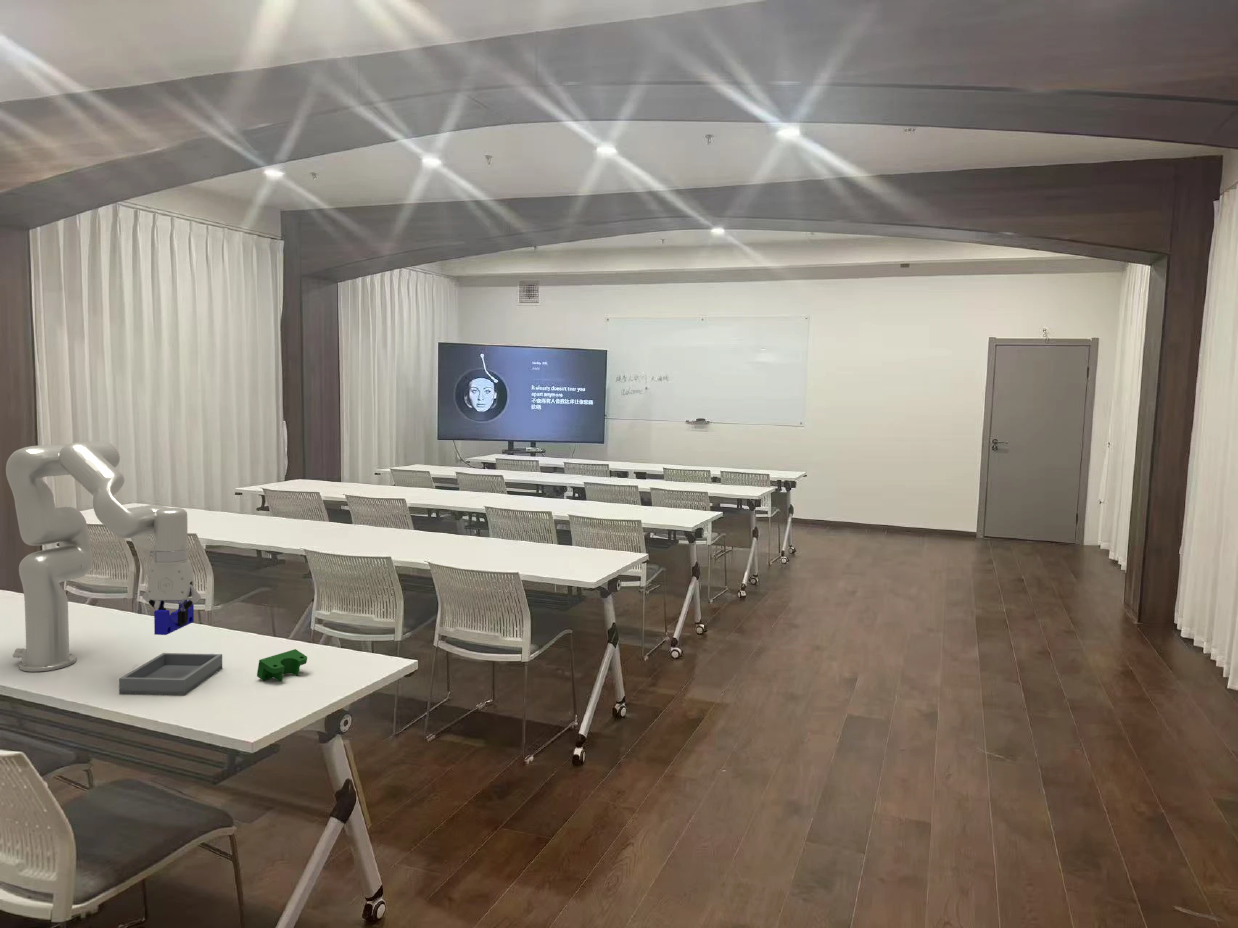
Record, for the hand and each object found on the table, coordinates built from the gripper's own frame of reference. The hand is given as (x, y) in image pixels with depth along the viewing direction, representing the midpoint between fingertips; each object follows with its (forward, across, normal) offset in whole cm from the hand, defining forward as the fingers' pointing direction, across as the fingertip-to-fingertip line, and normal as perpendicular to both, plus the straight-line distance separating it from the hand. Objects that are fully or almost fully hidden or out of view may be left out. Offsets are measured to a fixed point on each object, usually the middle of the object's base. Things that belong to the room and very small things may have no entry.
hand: (172, 624), depth 206 cm
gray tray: (+15, 0, 0) cm, 15 cm away
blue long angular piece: (+1, 0, 0) cm, 1 cm away
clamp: (+15, +27, +5) cm, 31 cm away
